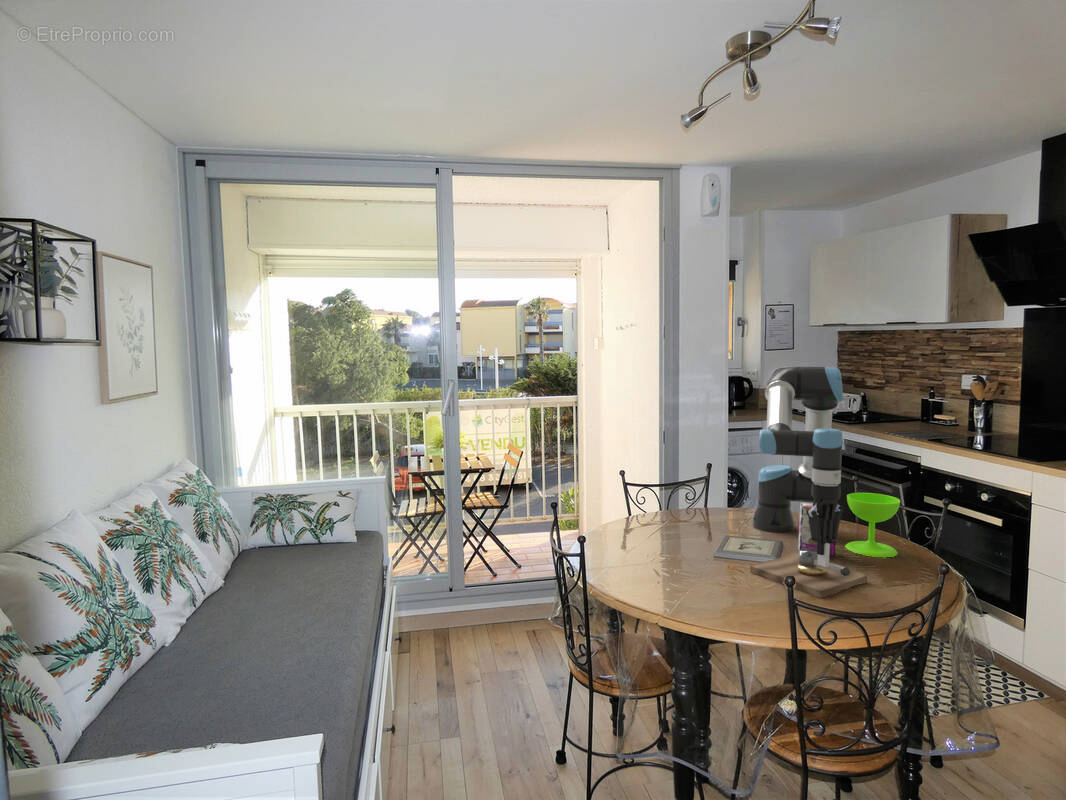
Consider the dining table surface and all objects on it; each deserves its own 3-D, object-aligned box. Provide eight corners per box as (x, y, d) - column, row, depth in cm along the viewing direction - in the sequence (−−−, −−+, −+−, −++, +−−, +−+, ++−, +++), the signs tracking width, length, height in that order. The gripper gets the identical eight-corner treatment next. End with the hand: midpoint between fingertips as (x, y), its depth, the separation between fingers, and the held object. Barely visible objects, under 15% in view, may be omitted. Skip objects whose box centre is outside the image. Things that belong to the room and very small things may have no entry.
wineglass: (848, 540, 230) (850, 490, 229) (900, 548, 221) (902, 496, 220) (840, 552, 217) (842, 499, 216) (895, 561, 208) (897, 506, 207)
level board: (750, 572, 199) (750, 565, 199) (796, 558, 211) (796, 552, 211) (820, 598, 179) (821, 590, 179) (867, 581, 191) (867, 574, 190)
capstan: (791, 569, 195) (792, 551, 194) (808, 564, 199) (809, 546, 198) (840, 586, 181) (841, 566, 181) (857, 580, 185) (858, 561, 185)
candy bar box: (799, 554, 216) (801, 505, 214) (797, 549, 220) (799, 502, 219) (836, 557, 213) (838, 508, 211) (833, 552, 217) (835, 504, 216)
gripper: (821, 488, 176) (818, 573, 178) (853, 483, 182) (850, 565, 184) (798, 483, 183) (796, 564, 185) (830, 479, 189) (827, 558, 191)
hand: (823, 565), depth 184 cm, fingers closed
